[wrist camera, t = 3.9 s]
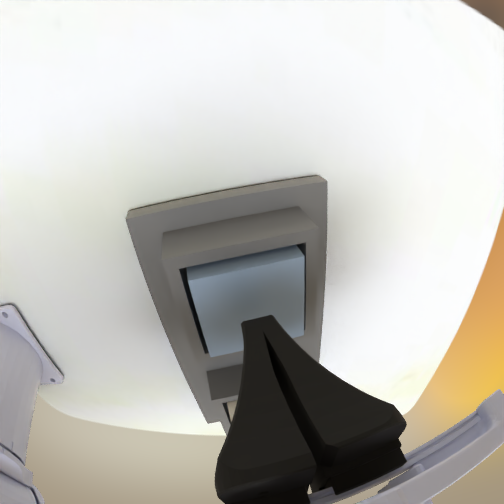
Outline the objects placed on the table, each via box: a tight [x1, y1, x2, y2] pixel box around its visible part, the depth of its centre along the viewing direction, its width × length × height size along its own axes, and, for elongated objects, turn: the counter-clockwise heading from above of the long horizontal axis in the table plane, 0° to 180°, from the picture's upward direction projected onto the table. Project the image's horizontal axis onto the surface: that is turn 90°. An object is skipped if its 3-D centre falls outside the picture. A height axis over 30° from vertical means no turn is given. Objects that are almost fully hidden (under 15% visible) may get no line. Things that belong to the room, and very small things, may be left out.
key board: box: [126, 176, 327, 435], centre depth 19 cm, size 10×20×4 cm, turn 6°
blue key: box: [187, 245, 304, 357], centre depth 15 cm, size 5×5×2 cm
